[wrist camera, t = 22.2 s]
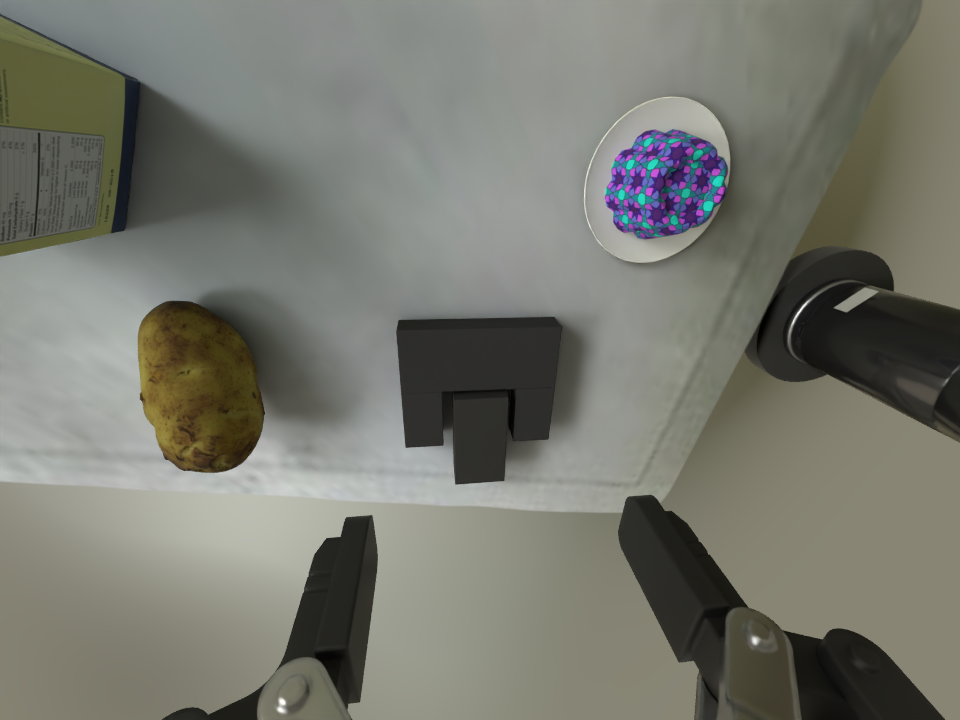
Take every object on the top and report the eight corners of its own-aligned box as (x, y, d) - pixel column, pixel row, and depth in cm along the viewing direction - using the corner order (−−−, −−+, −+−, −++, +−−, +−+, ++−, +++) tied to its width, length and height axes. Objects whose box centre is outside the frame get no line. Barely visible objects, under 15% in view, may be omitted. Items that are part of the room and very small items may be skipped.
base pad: (554, 316, 36) (562, 326, 33) (542, 424, 41) (548, 439, 39) (398, 320, 34) (396, 330, 32) (406, 432, 39) (405, 447, 37)
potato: (274, 302, 32) (230, 341, 25) (281, 430, 37) (246, 491, 30) (161, 289, 31) (79, 325, 23) (185, 423, 36) (124, 487, 29)
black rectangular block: (503, 381, 38) (508, 397, 35) (499, 461, 42) (504, 481, 40) (451, 383, 37) (453, 400, 35) (453, 464, 42) (455, 484, 39)
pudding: (690, 269, 35) (730, 284, 30) (564, 251, 33) (586, 265, 28) (749, 115, 30) (808, 105, 25) (605, 82, 28) (640, 65, 23)
